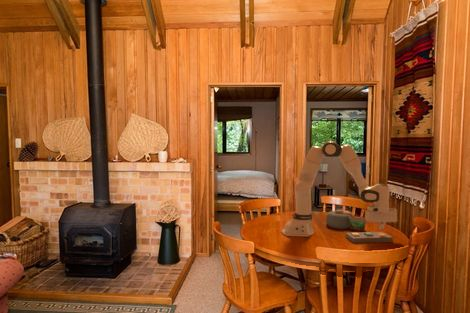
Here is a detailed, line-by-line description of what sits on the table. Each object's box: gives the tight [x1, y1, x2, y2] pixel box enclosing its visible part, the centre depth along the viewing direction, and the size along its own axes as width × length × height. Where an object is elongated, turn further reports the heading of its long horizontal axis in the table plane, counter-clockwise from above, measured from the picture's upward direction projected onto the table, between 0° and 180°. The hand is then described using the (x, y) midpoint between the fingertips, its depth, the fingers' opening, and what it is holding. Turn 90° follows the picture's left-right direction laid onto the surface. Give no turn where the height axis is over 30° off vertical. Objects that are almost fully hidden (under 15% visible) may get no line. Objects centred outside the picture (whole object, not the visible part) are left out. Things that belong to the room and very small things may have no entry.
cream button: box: [350, 232, 360, 236], centre depth 196 cm, size 4×4×2 cm
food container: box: [349, 216, 367, 232], centre depth 216 cm, size 12×6×10 cm, turn 68°
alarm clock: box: [325, 209, 354, 230], centre depth 230 cm, size 19×20×12 cm
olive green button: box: [363, 231, 373, 236], centre depth 196 cm, size 4×4×2 cm
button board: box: [345, 231, 394, 244], centre depth 196 cm, size 26×12×3 cm, turn 92°
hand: (381, 228), depth 197 cm, fingers closed
